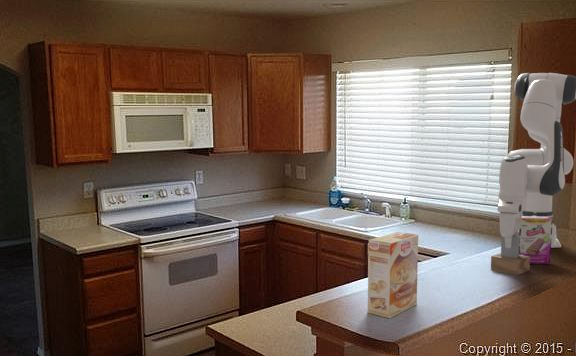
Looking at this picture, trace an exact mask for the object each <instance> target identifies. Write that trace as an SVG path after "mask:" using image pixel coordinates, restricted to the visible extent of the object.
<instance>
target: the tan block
mask: <svg viewBox="0 0 576 356" xmlns="http://www.w3.org/2000/svg"><path fill="white" fill-rule="evenodd" d="M530 267H531V266H530V257H529V256H524V255H519V256H518V258H507V257H501V252H500V253H497V254H494V255H491V256H490V270H491V271H493V272H499V273H504V274H509V275H514V276H518V275H521V274H524V273H526V272H529V271H530V269H531V268H530Z"/></svg>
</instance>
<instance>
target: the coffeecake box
mask: <svg viewBox="0 0 576 356" xmlns="http://www.w3.org/2000/svg"><path fill="white" fill-rule="evenodd" d="M367 255H368V259H367V261H368V263H367V264H368V265H367V269H368V270H367V314H371V315H375V316H379V317H381V318H382V317H383V318H385V319H386V318H387V319H392V318H393V317H395V316H397V315H399V314H402V312H405V311H407V310H408V309H411V308H413V307H415V306H416V305H418V268H419V267H418V266H419V265H418V263H419V261H418V260H419V234H415V233H409V232H408V233H407V232H401V231H395V232H392V233H389V234H385V235H382V236H378V237H374V238H370V239H368V254H367Z"/></svg>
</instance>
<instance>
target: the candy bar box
mask: <svg viewBox="0 0 576 356" xmlns="http://www.w3.org/2000/svg"><path fill="white" fill-rule="evenodd" d="M553 220H554V218H553V219H552V218H550V217H540V216H522V226H521V228H520V229H519V230H518V234H517V235H520V240H519V255H524V256H529V257H530V264H531V265H535V264H536V265H550V264H551V254H552V253H551V252H552V248H551V238H552V222H553Z"/></svg>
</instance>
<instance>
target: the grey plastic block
mask: <svg viewBox="0 0 576 356" xmlns="http://www.w3.org/2000/svg"><path fill="white" fill-rule="evenodd" d="M500 237H501V238H500V253H501V257H507V258H518V256H519V240H520V235H513V236H512V247H511V248H506V247H505V236H502V235H501V236H500Z"/></svg>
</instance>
